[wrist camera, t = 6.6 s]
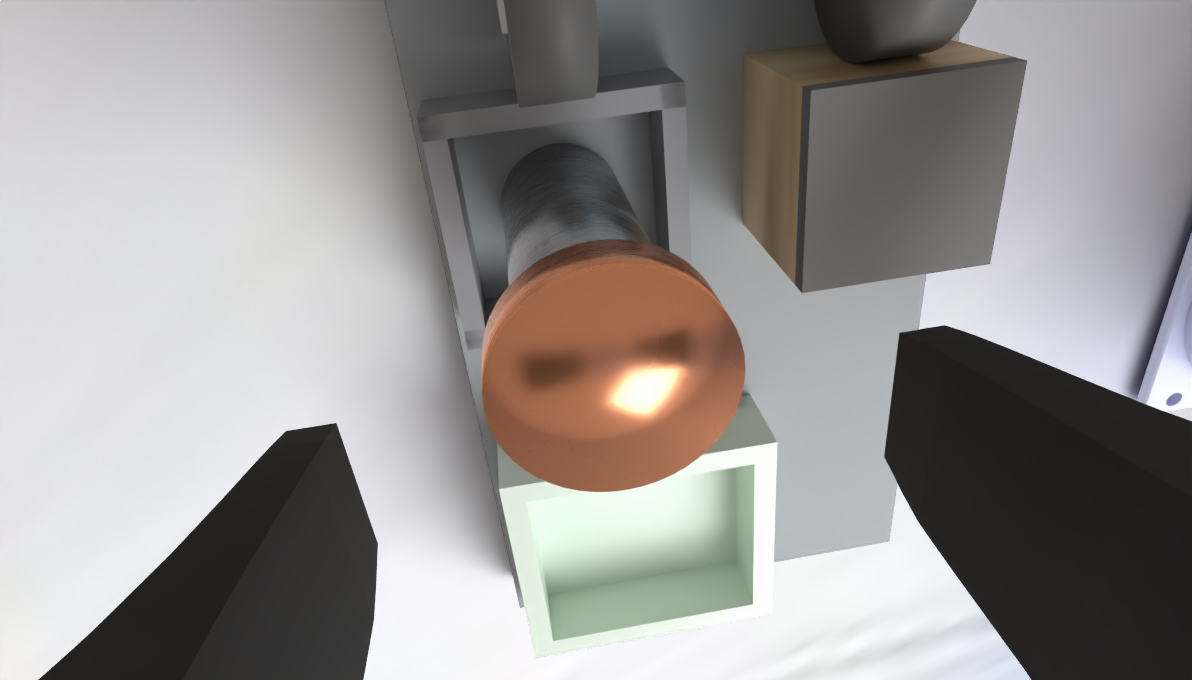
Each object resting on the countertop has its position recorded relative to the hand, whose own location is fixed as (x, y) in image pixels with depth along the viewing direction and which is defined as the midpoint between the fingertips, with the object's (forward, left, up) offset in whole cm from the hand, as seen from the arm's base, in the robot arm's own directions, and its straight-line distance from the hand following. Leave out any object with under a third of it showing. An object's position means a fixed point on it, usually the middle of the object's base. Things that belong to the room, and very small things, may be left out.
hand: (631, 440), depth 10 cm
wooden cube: (-6, -1, -9) cm, 11 cm away
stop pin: (0, 0, -9) cm, 9 cm away
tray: (-1, +10, -9) cm, 13 cm away
